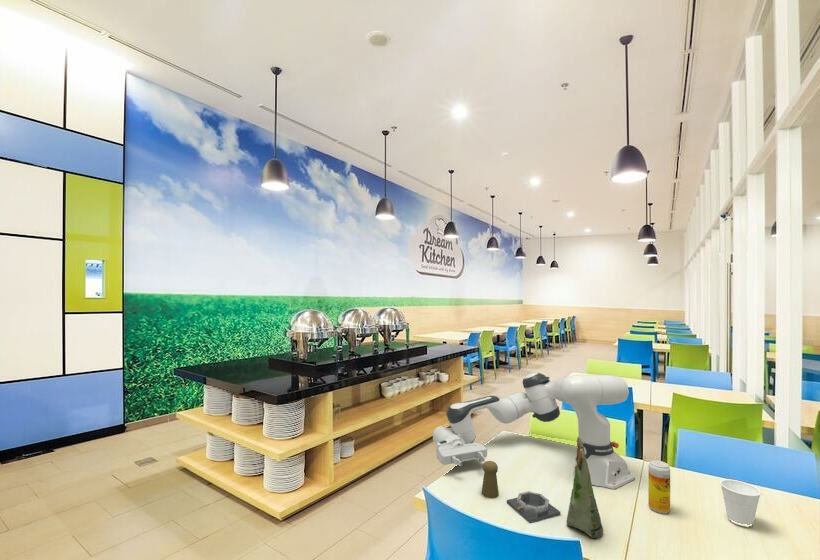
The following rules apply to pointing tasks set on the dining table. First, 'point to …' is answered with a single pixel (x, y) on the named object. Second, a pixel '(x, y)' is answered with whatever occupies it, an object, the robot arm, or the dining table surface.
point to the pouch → (583, 499)
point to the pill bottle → (659, 486)
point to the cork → (490, 480)
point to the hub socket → (533, 507)
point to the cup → (740, 500)
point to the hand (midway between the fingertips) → (472, 461)
